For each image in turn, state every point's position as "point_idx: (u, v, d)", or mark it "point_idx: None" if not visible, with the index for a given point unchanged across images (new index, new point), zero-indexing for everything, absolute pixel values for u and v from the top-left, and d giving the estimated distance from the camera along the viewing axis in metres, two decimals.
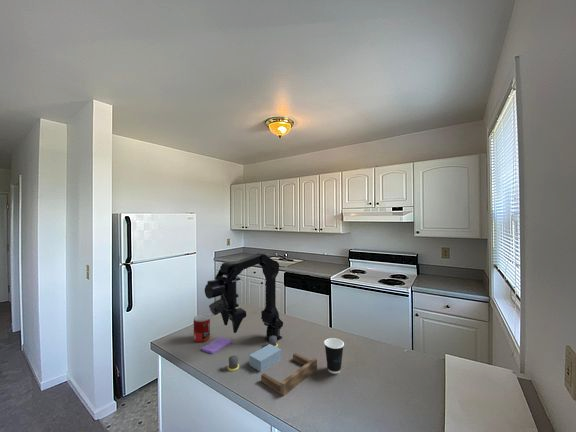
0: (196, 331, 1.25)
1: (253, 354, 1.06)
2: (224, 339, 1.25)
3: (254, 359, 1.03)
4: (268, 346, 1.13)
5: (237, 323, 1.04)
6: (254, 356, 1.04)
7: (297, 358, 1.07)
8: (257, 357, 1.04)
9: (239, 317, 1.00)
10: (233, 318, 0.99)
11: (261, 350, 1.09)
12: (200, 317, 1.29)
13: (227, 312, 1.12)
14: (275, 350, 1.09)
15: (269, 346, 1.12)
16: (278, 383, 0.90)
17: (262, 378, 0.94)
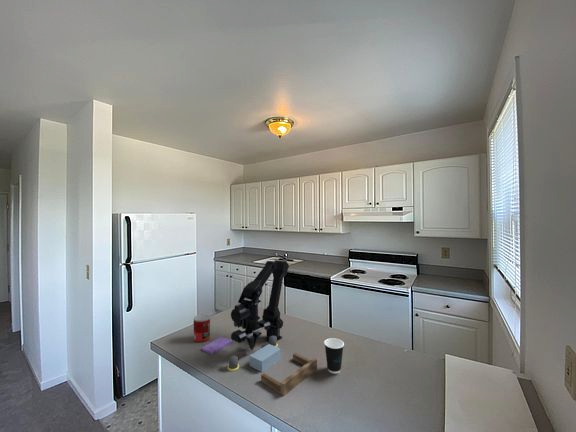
0: (196, 331, 1.25)
1: (253, 354, 1.06)
2: (224, 339, 1.25)
3: (255, 359, 1.03)
4: (267, 346, 1.13)
5: (250, 341, 1.12)
6: (255, 356, 1.04)
7: (297, 358, 1.07)
8: (258, 357, 1.04)
9: (234, 339, 1.07)
10: (231, 336, 1.09)
11: (261, 350, 1.09)
12: (200, 317, 1.29)
13: None
14: (275, 350, 1.09)
15: (268, 346, 1.12)
16: (278, 383, 0.90)
17: (262, 378, 0.94)
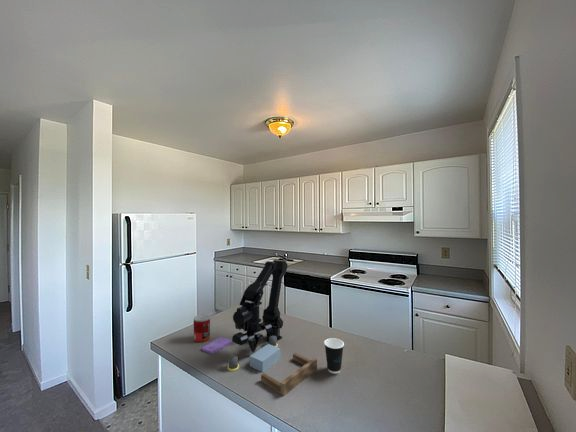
0: (196, 331, 1.25)
1: (253, 355, 1.05)
2: (224, 339, 1.25)
3: (255, 360, 1.03)
4: (267, 346, 1.13)
5: (251, 344, 1.12)
6: (255, 357, 1.04)
7: (297, 358, 1.07)
8: (259, 357, 1.03)
9: (235, 341, 1.06)
10: (232, 339, 1.08)
11: (261, 350, 1.09)
12: (200, 317, 1.29)
13: None
14: (275, 350, 1.09)
15: (268, 346, 1.12)
16: (278, 383, 0.90)
17: (262, 378, 0.94)
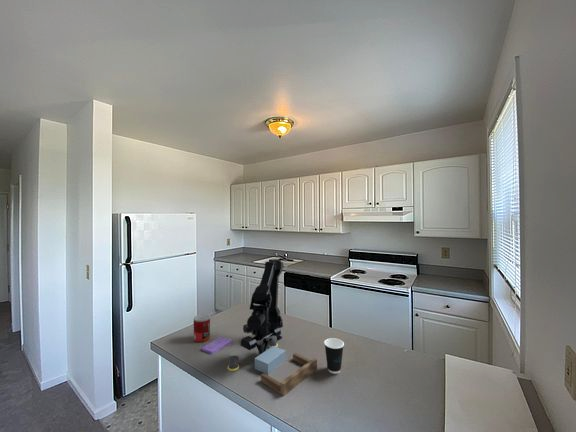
0: (196, 331, 1.25)
1: (258, 357, 1.04)
2: (224, 339, 1.25)
3: (260, 362, 1.01)
4: (272, 348, 1.11)
5: (260, 348, 1.08)
6: (260, 359, 1.02)
7: (297, 358, 1.07)
8: (264, 360, 1.02)
9: (244, 346, 1.02)
10: None
11: (266, 352, 1.07)
12: (200, 317, 1.29)
13: None
14: (280, 352, 1.08)
15: (273, 348, 1.11)
16: (278, 383, 0.90)
17: (262, 378, 0.94)
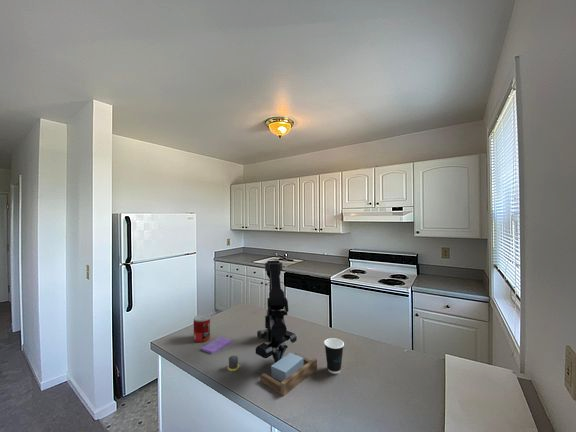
0: (196, 331, 1.25)
1: (275, 365, 0.98)
2: (224, 339, 1.25)
3: (277, 370, 0.96)
4: (288, 355, 1.06)
5: (275, 356, 1.02)
6: (277, 367, 0.97)
7: None
8: (281, 368, 0.97)
9: (259, 354, 0.96)
10: None
11: (282, 360, 1.02)
12: (200, 317, 1.29)
13: None
14: (298, 359, 1.02)
15: (290, 355, 1.05)
16: (278, 383, 0.90)
17: (262, 378, 0.94)
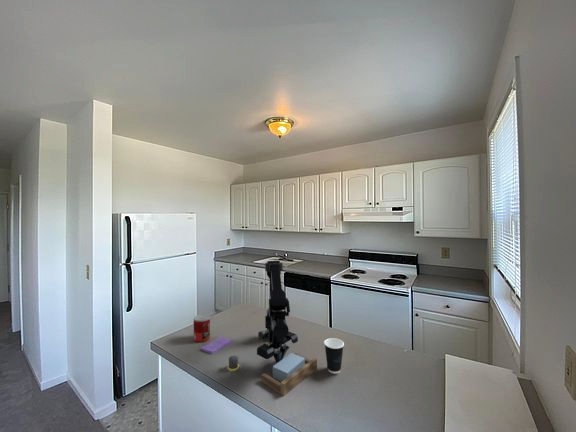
0: (196, 331, 1.25)
1: (277, 365, 0.98)
2: (224, 339, 1.25)
3: (279, 371, 0.95)
4: (290, 355, 1.05)
5: (276, 357, 1.01)
6: (278, 367, 0.97)
7: None
8: (282, 368, 0.96)
9: (260, 355, 0.96)
10: None
11: (284, 360, 1.01)
12: (200, 317, 1.29)
13: None
14: (299, 360, 1.02)
15: (291, 355, 1.05)
16: (278, 383, 0.90)
17: (262, 378, 0.94)
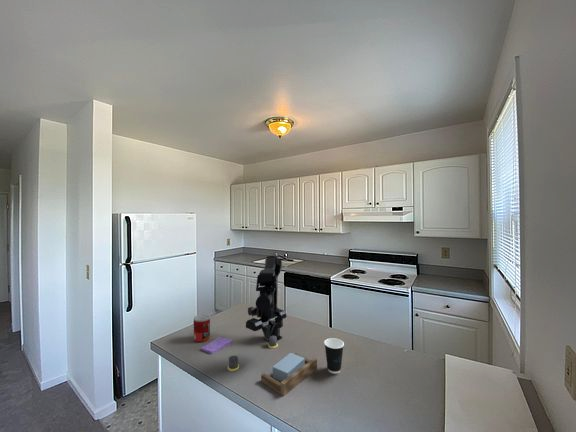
0: (196, 331, 1.25)
1: (277, 365, 0.98)
2: (224, 339, 1.25)
3: (279, 371, 0.95)
4: (290, 355, 1.05)
5: (265, 331, 1.05)
6: (278, 367, 0.96)
7: None
8: (283, 368, 0.96)
9: (249, 327, 1.00)
10: None
11: (284, 360, 1.01)
12: (200, 317, 1.29)
13: None
14: (299, 359, 1.02)
15: (291, 355, 1.05)
16: (278, 383, 0.90)
17: (262, 378, 0.94)
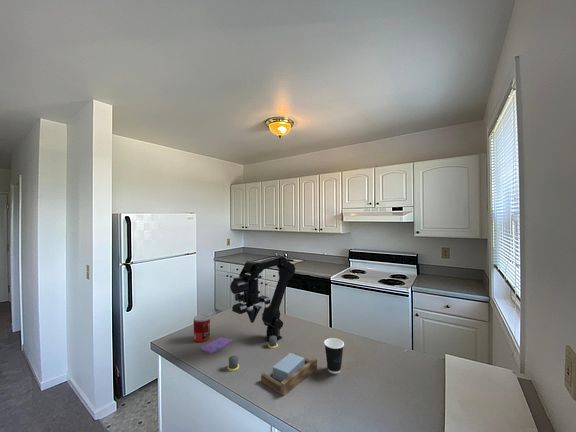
0: (196, 331, 1.25)
1: (277, 365, 0.98)
2: (224, 339, 1.25)
3: (279, 371, 0.95)
4: (289, 355, 1.05)
5: (250, 314, 1.16)
6: (279, 368, 0.96)
7: None
8: (283, 368, 0.96)
9: (235, 311, 1.11)
10: (232, 309, 1.13)
11: (284, 360, 1.01)
12: (200, 317, 1.29)
13: None
14: (299, 359, 1.02)
15: (291, 355, 1.05)
16: (278, 383, 0.90)
17: (262, 378, 0.94)
